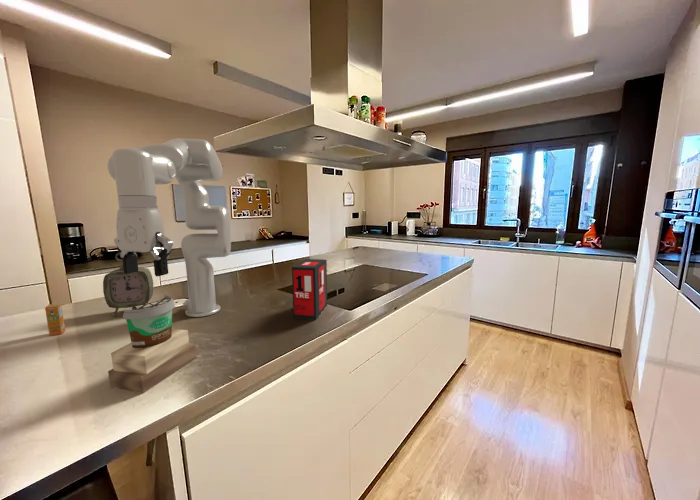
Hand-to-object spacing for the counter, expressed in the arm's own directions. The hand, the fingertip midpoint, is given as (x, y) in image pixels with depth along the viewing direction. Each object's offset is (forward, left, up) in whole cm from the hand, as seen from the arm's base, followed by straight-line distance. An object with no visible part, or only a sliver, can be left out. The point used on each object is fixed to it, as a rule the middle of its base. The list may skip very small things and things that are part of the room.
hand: (146, 273), depth 72 cm
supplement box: (-52, +8, -26) cm, 59 cm away
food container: (+2, 0, -18) cm, 18 cm away
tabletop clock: (-47, +30, -26) cm, 61 cm away
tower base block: (+1, 0, -26) cm, 26 cm away
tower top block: (0, -1, -22) cm, 22 cm away
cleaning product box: (+22, +50, -26) cm, 60 cm away
